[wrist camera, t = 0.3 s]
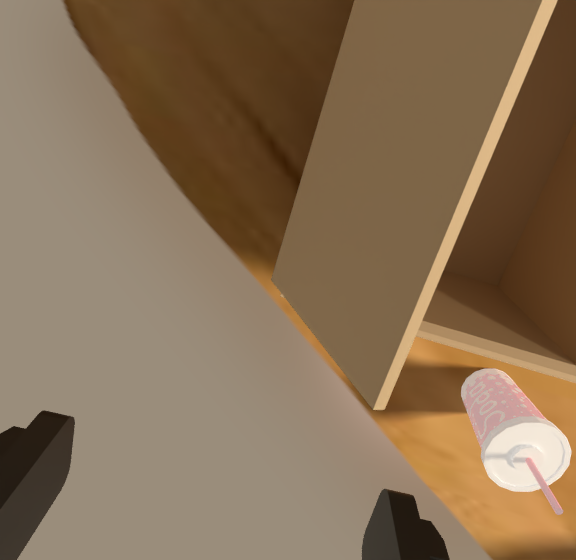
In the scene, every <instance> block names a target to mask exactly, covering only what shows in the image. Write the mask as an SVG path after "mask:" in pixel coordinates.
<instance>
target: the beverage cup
mask: <svg viewBox="0 0 576 560" xmlns="http://www.w3.org/2000/svg"><path fill="white" fill-rule="evenodd" d="M461 397H462V399H463V402H464V405H465V407H466V410H467V413H468V415H469V418H470V421H471V423H472V426H473V428H474V431H475V434H476V436H477V439H478V442H479V444H480V447H481V450H482V452H481V459H482V461H483V464H484V467H485V469H486V471H487V474H488V476H489V478H491V479H492V480H493V481H494V482H495V483H496V484H497V485H499V486H500V487H503V488H506V489H509V490H512V491H524V492H531V491H534V490H538V489H542V491H543V492H544V494H545V496H546V498H547V499H548V501H549V503H550V504H551V506H552V508H553V510H554V511H555V513H556V514H558V515H560V514H562V513H563V510H562V508H561V506H560V505H559V503H558V501H557V500H556V498H555V496H554V495H553V493H552V492H551V490H550V488H549V487H548V486H549V485H550V484H552V483H553V482H554V481H556V480H557V479H559V478H560V477H561V476H562V474H563V473H564V472H565V470H566V469H567V467H568V466H569V463H570V457H571V448H570V445H569V442H568V440H567V438H566V436H565V435H564V434H563V433H562V432H561V431H560V430H559V429H558V428H557V427H556V426H555V425H554V424H553V423H552V422H550V421H548V420H547V419H546V418H545V417H544V416H543V415H542V414H541V413H540V411H539V410H538V409H537V408H536V407H535V406H534V405H533V403H532V402H531V401H530V400H529V399H528V398H527V396H526V395H525V394H524V393H523V392H522V391H521V390H520V388H519V387H518V386H517V385H516V384H515V383H514V381H513V380H512V379H511V378H510V377H509V376H508V375H507V374H506V373H505V372H503V371H500V370H497V369H482V370H479V371H476V372H474V373H473V374H471V375H470V376H469V377H468V378H466V380H465V382H464V384H463V385H462V389H461Z"/></svg>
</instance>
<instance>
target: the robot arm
mask: <svg viewBox="0 0 576 560" xmlns="http://www.w3.org/2000/svg"><path fill="white" fill-rule="evenodd" d="M74 425H75V421H74V417H71V416H67V415H62V414H58V413H53V412H49V411H41V412H40V413H39V414H38V415H37V416H36V418H35V419H34V420H33V421H32V422H31V424H30V425H29V426H28V427H27V428H26V429H24V428H20V427H15V426H13V427H11V428H10V429H8V430H6V431H4V432H3V433H1V434H0V560H17V558H18V557H19V555H20V554H21V552H22V551H23V549H24V548H25V546H26V544H27V543H28V541H29V540H30V538H31V536H32V535H33V533H34V532H35V530H36V529H37V527H38V525H39V524H40V522H41V521H42V519H43V518H44V516H45V514H46V513H47V511H48V510H49V508H50V507H51V505H52V504H53V502H54V500H55V499H56V497H57V495H58V494H59V493H60V491H61V489H62V487H63V485H64V483H65V481H66V478H67V475H68V472H69V468H70V463H71V454H72V444H73V435H74ZM362 560H449V556H448V553H447V549H446V546H445V543H444V540H443V538H442V537H441V535H440V534H439V532H438V531H437V530H436V528H435V527H434V525H433V524H432V522H431V521H427V520H423V519H420V517H419V513H418V509H417V505H416V501H415V498H414V496H413V495H410V494H405V493H401V492H396V491H392V490H388V489H384V490H382V492H381V493H380V495H379V498H378V501H377V503H376V506H375V508H374V511H373V513H372V516H371V518H370V521H369V523H368V526H367V528H366V531H365V535H364V538H363V545H362Z"/></svg>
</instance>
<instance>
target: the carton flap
mask: <svg viewBox="0 0 576 560" xmlns="http://www.w3.org/2000/svg"><path fill="white" fill-rule="evenodd" d="M557 1H558V0H354V4H353V7H352V10H351V14H350V17H349V20H348V24H347V27H346V30H345V34H344V37H343V40H342V44H341V47H340V51H339V54H338V57H337V61H336V64H335V67H334V71H333V74H332V77H331V81H330V84H329V87H328V91H327V94H326V97H325V101H324V104H323V107H322V111H321V114H320V118H319V121H318V124H317V128H316V131H315V134H314V138H313V141H312V144H311V148H310V151H309V154H308V158H307V161H306V164H305V168H304V171H303V175H302V178H301V181H300V185H299V188H298V191H297V195H296V198H295V201H294V205H293V208H292V211H291V215H290V218H289V221H288V225H287V228H286V231H285V235H284V238H283V242H282V245H281V248H280V252H279V255H278V258H277V262H276V265H275V268H274V272H273V275H272V278H271V280H272V282H273V283H274V284H275V285H276V287H277V288H278V289H279V291H280V292H281V293H282V294H283V296H284V297H285V298H286V299H287V301H288V302H289V303H290V305H291V306H292V307H293V308H294V310H295V311H296V312H297V314H298V315H299V316H300V317H301V319H302V320H303V321H304V322H305V324H306V325H307V326H308V328H309V329H310V330H311V331H312V333H313V334H314V335H315V336H316V338H317V339H318V340H319V342H320V343H321V344H322V345H323V347H324V348H325V349H326V351H327V352H328V353H329V354H330V356H331V357H332V358H333V359H334V361H335V362H336V363H337V365H338V366H339V367H340V368H341V370H342V371H343V372H344V373H345V375H346V376H347V377H348V379H349V380H350V381H351V382H352V384H353V385H354V386H355V388H356V389H357V390H358V391H359V393H360V394H361V395H362V396H363V398H364V399H365V400H366V402H367V403H368V404H369V405H370V407H371V408H372V409H373V410H385V407H386V405H387V403H388V400H389V398H390V396H391V393H392V391H393V388H394V386H395V384H396V381H397V379H398V377H399V374H400V372H401V370H402V367H403V365H404V362H405V360H406V358H407V355H408V353H409V351H410V348H411V346H412V344H413V341H414V339H415V336H416V334H417V332H418V329H419V327H420V325H421V322H422V320H423V317H424V315H425V313H426V310H427V308H428V306H429V303H430V301H431V299H432V296H433V294H434V291H435V289H436V287H437V284H438V282H439V280H440V277H441V275H442V273H443V270H444V268H445V265H446V263H447V261H448V258H449V256H450V254H451V251H452V249H453V247H454V244H455V242H456V239H457V237H458V235H459V232H460V230H461V228H462V225H463V223H464V221H465V218H466V216H467V213H468V211H469V209H470V206H471V204H472V202H473V199H474V197H475V195H476V192H477V190H478V187H479V185H480V183H481V180H482V178H483V176H484V173H485V171H486V169H487V166H488V164H489V161H490V159H491V157H492V154H493V152H494V150H495V147H496V145H497V143H498V140H499V138H500V135H501V133H502V131H503V128H504V126H505V124H506V121H507V119H508V117H509V114H510V112H511V109H512V107H513V105H514V102H515V100H516V98H517V95H518V93H519V91H520V88H521V86H522V83H523V81H524V79H525V76H526V74H527V72H528V69H529V67H530V65H531V62H532V60H533V57H534V55H535V53H536V50H537V48H538V46H539V43H540V41H541V39H542V36H543V34H544V31H545V29H546V27H547V24H548V22H549V20H550V17H551V15H552V13H553V10H554V8H555V5H556V3H557Z"/></svg>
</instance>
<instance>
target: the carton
mask: <svg viewBox="0 0 576 560" xmlns="http://www.w3.org/2000/svg"><path fill="white" fill-rule="evenodd" d="M277 289H278V288H277ZM280 297H284V296H283V294H282V293H281V296H280ZM284 298H285V297H284ZM416 336H417V337H420V338H424V339H427V340H430V341H434V342H437V343H441V344H444V345H447V346H451V347H454V348H458V349H461V350H464V351H468V352H471V353H475V354H478V355H482V356H485V357H488V358H492V359H495V360H499V361H502V362H505V363H509V364H512V365H516V366H519V367H522V368H526V369H529V370H533V371H536V372H540V373H543V374H546V375H550V376H553V377H557V378H560V379H563V380H567V381H570V382H574V383H576V0H558V1H557V3H556V5H555V8H554V10H553V13H552V15H551V17H550V20H549V22H548V24H547V27H546V29H545V31H544V34H543V36H542V39H541V41H540V43H539V46H538V48H537V50H536V53H535V55H534V57H533V60H532V62H531V65H530V67H529V69H528V72H527V74H526V76H525V79H524V81H523V83H522V86H521V88H520V91H519V93H518V95H517V98H516V100H515V102H514V105H513V107H512V109H511V112H510V114H509V117H508V119H507V121H506V124H505V126H504V128H503V131H502V133H501V135H500V138H499V140H498V143H497V145H496V147H495V150H494V152H493V154H492V157H491V159H490V161H489V164H488V166H487V169H486V171H485V173H484V176H483V178H482V180H481V183H480V185H479V187H478V190H477V192H476V195H475V197H474V199H473V202H472V204H471V206H470V209H469V211H468V213H467V216H466V218H465V221H464V223H463V225H462V228H461V230H460V232H459V235H458V237H457V239H456V242H455V244H454V247H453V249H452V251H451V254H450V256H449V258H448V261H447V263H446V265H445V268H444V270H443V273H442V275H441V277H440V280H439V282H438V284H437V287H436V289H435V291H434V294H433V296H432V299H431V301H430V303H429V306H428V308H427V310H426V313H425V315H424V317H423V320H422V322H421V325H420V327H419V329H418V332H417V334H416Z"/></svg>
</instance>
